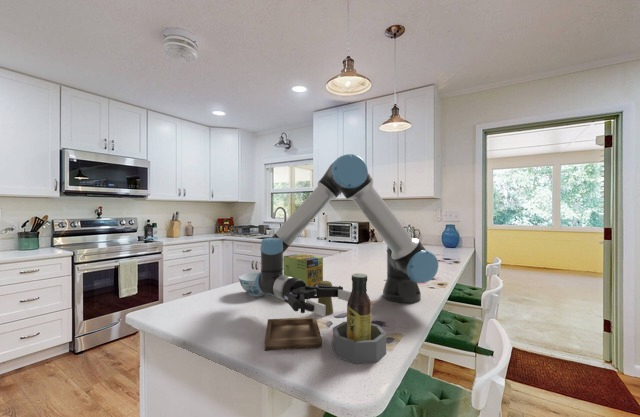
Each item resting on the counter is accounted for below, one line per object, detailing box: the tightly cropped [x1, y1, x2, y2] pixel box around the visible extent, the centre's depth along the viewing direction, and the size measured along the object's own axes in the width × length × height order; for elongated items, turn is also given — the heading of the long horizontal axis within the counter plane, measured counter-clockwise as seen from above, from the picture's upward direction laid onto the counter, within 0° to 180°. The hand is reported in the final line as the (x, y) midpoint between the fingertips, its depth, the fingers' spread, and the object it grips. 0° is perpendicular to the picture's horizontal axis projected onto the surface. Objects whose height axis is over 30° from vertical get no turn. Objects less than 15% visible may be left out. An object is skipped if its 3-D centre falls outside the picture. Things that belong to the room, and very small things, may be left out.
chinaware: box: [238, 271, 266, 297], centre depth 125 cm, size 15×15×8 cm
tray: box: [264, 316, 323, 352], centre depth 84 cm, size 15×15×2 cm
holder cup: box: [332, 321, 387, 365], centre depth 76 cm, size 13×13×5 cm
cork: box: [317, 280, 334, 316], centre depth 103 cm, size 6×6×11 cm
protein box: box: [283, 253, 324, 295], centre depth 129 cm, size 10×15×16 cm
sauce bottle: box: [346, 273, 372, 341], centre depth 76 cm, size 6×6×20 cm
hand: (341, 304), depth 79 cm, fingers open, 13 cm apart
